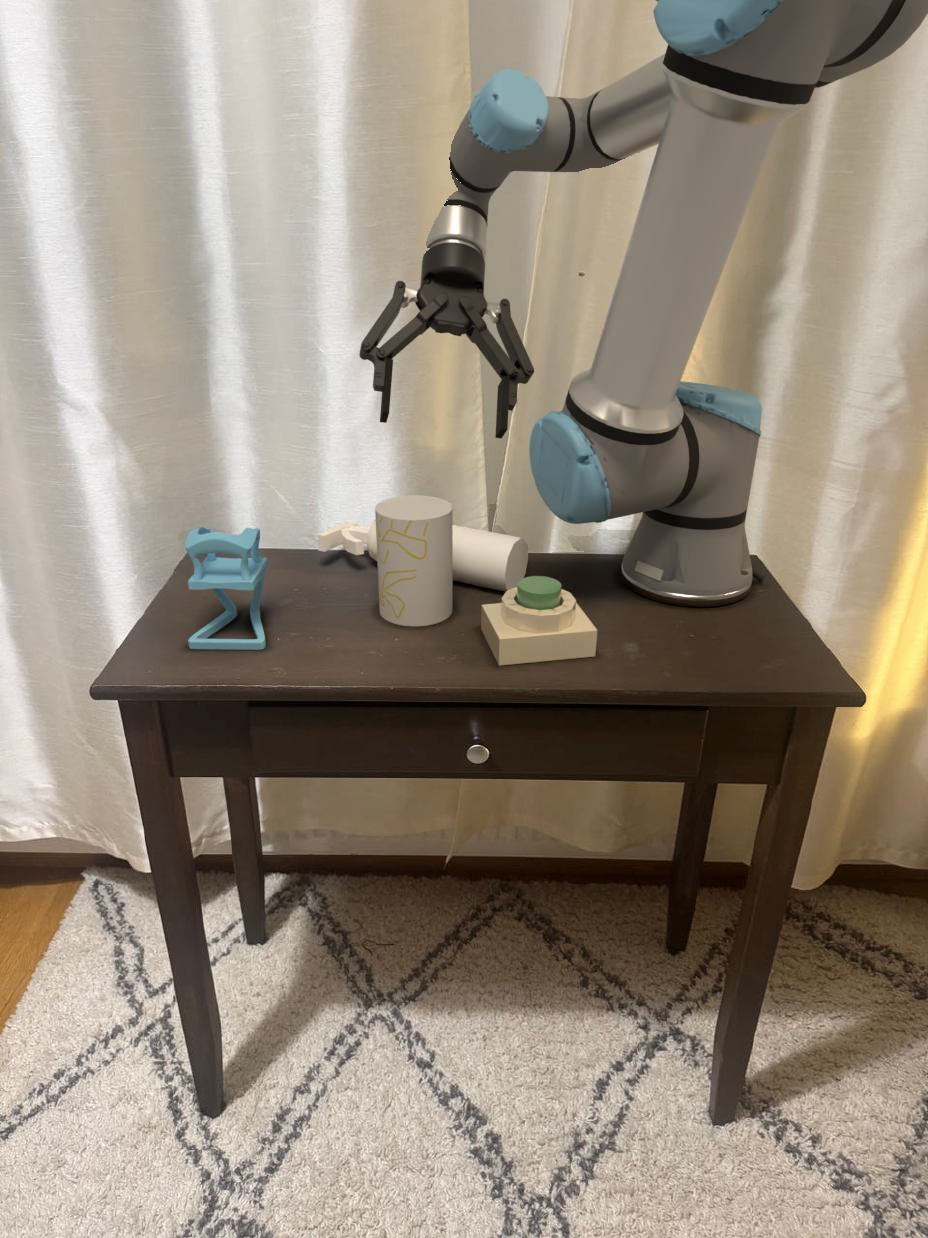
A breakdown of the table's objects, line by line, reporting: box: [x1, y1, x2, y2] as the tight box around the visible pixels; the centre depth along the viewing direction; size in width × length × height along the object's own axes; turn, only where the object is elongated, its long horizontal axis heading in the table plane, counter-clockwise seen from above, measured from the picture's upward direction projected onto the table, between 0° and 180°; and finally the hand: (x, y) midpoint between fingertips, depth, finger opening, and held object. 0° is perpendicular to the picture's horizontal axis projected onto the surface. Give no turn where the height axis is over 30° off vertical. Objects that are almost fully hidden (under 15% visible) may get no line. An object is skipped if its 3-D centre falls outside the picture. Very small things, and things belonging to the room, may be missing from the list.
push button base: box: [480, 587, 598, 667], centre depth 87 cm, size 10×8×5 cm
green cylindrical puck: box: [517, 575, 562, 610], centre depth 86 cm, size 4×4×2 cm
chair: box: [184, 526, 268, 651], centre depth 87 cm, size 8×8×12 cm
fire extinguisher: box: [317, 518, 529, 593], centre depth 104 cm, size 7×12×25 cm
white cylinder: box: [374, 494, 454, 627], centre depth 92 cm, size 8×8×12 cm
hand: (443, 426), depth 97 cm, fingers open, 13 cm apart
